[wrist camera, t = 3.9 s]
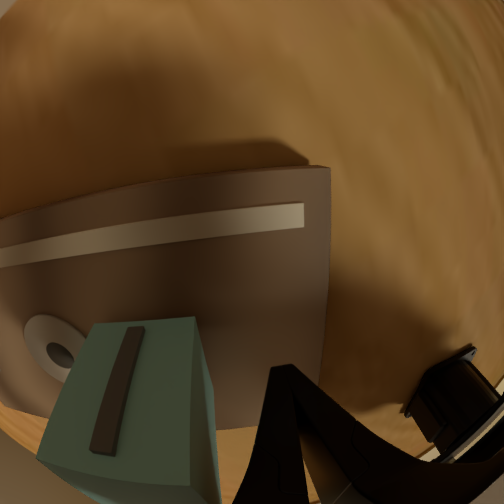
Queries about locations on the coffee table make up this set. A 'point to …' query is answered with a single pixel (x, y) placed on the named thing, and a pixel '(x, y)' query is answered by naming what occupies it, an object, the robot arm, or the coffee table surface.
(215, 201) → the board
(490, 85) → the coffee table surface
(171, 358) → the sage green box
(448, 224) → the coffee table surface
